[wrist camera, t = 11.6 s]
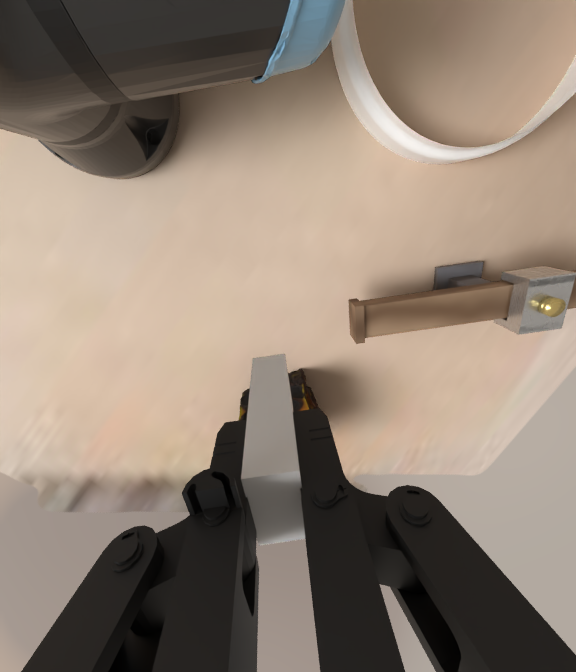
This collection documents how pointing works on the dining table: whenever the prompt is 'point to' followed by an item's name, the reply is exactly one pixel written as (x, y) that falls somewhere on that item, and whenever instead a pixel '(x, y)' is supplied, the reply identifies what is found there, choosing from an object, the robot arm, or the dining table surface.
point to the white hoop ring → (390, 127)
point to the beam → (436, 304)
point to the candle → (299, 394)
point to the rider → (537, 299)
